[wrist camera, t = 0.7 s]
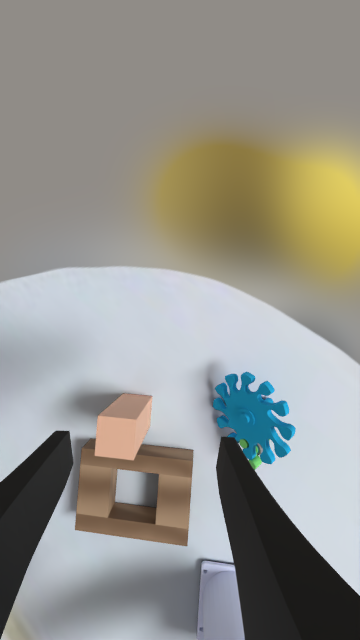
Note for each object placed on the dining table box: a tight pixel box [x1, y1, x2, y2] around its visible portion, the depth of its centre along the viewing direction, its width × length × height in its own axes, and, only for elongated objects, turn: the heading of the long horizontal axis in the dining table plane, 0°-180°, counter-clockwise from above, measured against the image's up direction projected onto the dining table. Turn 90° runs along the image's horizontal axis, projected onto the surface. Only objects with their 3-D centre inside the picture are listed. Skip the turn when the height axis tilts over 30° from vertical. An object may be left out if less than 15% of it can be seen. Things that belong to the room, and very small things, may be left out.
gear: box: [213, 372, 296, 470], centre depth 27 cm, size 11×6×10 cm
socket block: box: [75, 439, 193, 546], centre depth 29 cm, size 10×14×2 cm
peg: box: [95, 393, 152, 460], centre depth 27 cm, size 4×4×8 cm
